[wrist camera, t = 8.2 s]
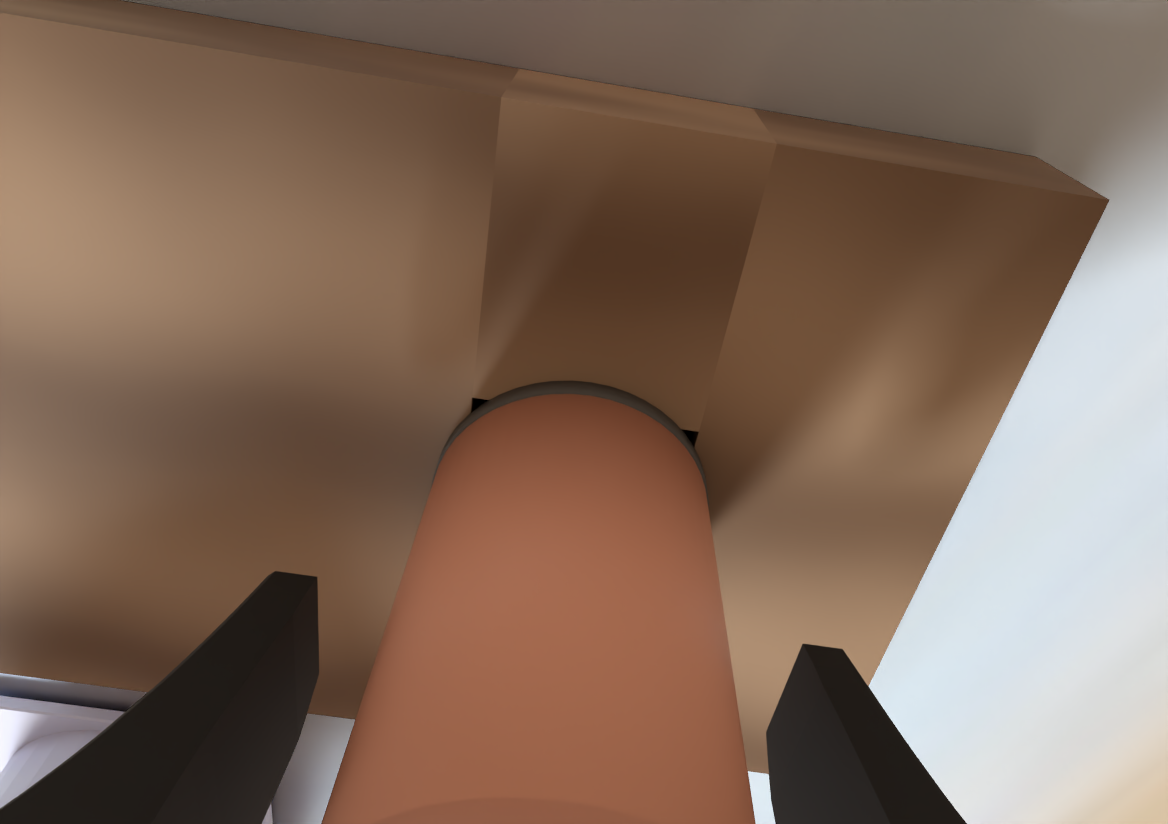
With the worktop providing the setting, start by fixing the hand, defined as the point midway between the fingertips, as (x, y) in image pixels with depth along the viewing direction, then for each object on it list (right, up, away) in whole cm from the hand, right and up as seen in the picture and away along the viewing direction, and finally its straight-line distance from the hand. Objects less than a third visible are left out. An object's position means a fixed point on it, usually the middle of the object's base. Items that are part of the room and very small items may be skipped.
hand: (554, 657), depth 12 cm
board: (-3, +4, +5) cm, 7 cm away
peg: (0, +3, +5) cm, 6 cm away
